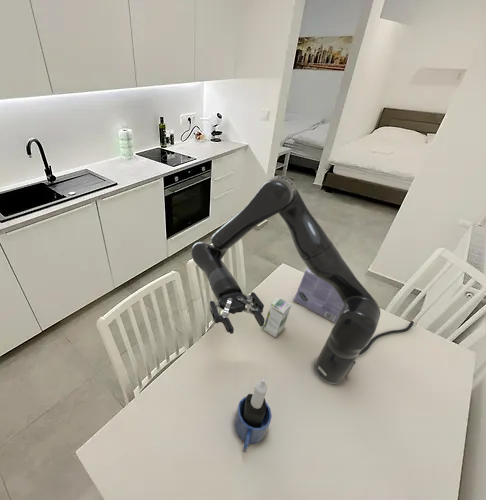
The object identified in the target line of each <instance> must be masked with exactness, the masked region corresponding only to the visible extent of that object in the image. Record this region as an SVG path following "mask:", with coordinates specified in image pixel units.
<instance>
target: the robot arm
mask: <svg viewBox="0 0 486 500" xmlns="http://www.w3.org/2000/svg"><path fill="white" fill-rule="evenodd" d="M277 214H279V216H280V217H281V219H282V220H283V221H284V222H285V224H286V226H287V228H288V230H289V233H290V235H291V239H292V242H293V244H294V247H295V248H296V251H297V253H298V255H299V257H300V259H301V260H302V262H303V263H304V264H305V266H306V268H308V269H309V270H310V271H311V272H312V273H313V274H314V275H315V276H317V277H318V278H320V279H322V280H324V281H325V282H327V283H329V284H330V285H331V286H332V287H333V288H334V289H335V290H336V291H337V293H338V294H339V296H340V297H341V299H342V301H343V303H344V306H343V309H342V311H341V313H340V315H339V317H338V319H337V321H336V323H334V325H333V327H332V329H331V331H330V333H329V335H328V337H327V339H326V341H325V343H324V345H323V348H322V349H321V352H320V353H319V355H318V357H317V359H316V361H315V362H314V366H313V367H314V368H313V369H314V372H315V374H316V375H317V376H318V378H319V379H321V380H322V381H323V382H325V383H326V384H330V385H339V384H341V383H342V382H343V380H344V379H346V378H347V377H348V376H349V374H350V372H351V371H352V370H353V368H354V366H355V365H356V359H357V358H358V356H360V355H361V354H363V353H365V352H366V351H368V349H370V347H371V346H372V344H373V343H374V342H375V341H376V340H377V339H379V338H381V337H383V336H387V335H391V334H396V333H404V332H407V331H409V330H410V329H411V328H412V327H413V325H414V324H415V321H413V320H411V321H410V323H409V324H408V325H407V327H405V328H402V329H393V330H392V329H391V330H389V331H384V332H381V333H379V334H377V335H375V333H376V330H377V327H378V324H379V322H380V318H381V308H380V306H379V304H378V302H377V301H376V299H374V297H373V296H372V294H371V293H370V292H369V291H368V290H367V289H366V288H365V286H364V285H363V284H362V283H361V282H360V281H359V279H358V278H357V277H356V276H355V274H354V272H353V270H352V269H351V268H350V266H349V265H348V264H347V262H346V261H345V259H344V258H343V256H342V254H341V253H340V251H339V250H338V249H337V247H336V245H335V244H334V243H333V241H332V240H331V239H330V237H329V236H328V234H327V233H326V232H325V230H324V229H323V227H322V226H321V224H319V222H318V221H317V219H315V217H314V216H313V214H312V213H311V212H310V210H309V209H308V207H307V204H306V203H305V201H304V199H303V198H302V196H301V194H300V192H299V190H298V188H297V186H296V184H295V182H293V180H292V179H290V178H289V177H287V176H285V175H274V176H272V177H271V178H269V179H267V180H266V181H265V182H264V183H263V184H262V185H261V186H260V187H259V190H258V191H257V192H256V193H255V194H254V195H253V197H252V198H251V200H250V201H249V202H248V203H247V204H246V205H245V206H244V207H243V209H241V210H240V211H239V212H238V213H237V214H236V215H234V216H232V217H231V218H230V219H228V220H227V221H226V222H225V223H224V224H223V225H221V226H220V227H219V228H218V229H217V230H216V231H215V232H213V234H212V235H211V238H210V242H211V243H208V242H205V241H197V242H195V243H194V244H193V245H192V247H191V251H190V253H191V254H190V255H191V258H192V261H193V262H194V263H195V264H196V265H197V267H198V268H199V269H200V270H201V271H202V272H203V273H204V275H205V277H206V279H207V281H208V283H209V286H210V289H211V291H212V292H213V294H214V296H215V298H216V301H217V302H215V301H214V300H210V301H209V311H210V314H211V316H212V319H213V321H214V324H219V323H221V324H222V325H223V327H224V329H225V331H226V332H227V333H229V335H232V334H234V331H235V328H234V325H233V324H232V322H231V320H230V318H229V316H230V314H231V315H235V314H237V313H243V312H244V313H246V314H250V315H252V316H254V319H255V321H256V322H257V324H258V326H259V327H260V328H261V327H264V324H265V321H266V318H265V317H264V315H263V312H264V308H265V304H264V303H263V301H262V300H261V299H260V298H259V297H258V295H257V294H256V293H255V292H254V291H252V292H250V294H248V295H246V294H244V293H243V291H242V289H241V287H240V286H239V284H238V283H237V281H236V279H235V277H234V276H233V274H232V272H230V271H229V269H228V268H227V266H226V264H225V263H224V262H223V258H224V257H225V255H226V254H227V252H228V250H229V249H231V248H232V247H233V246H235V244H237V243H239V241H240V240H242V239H243V238H244V237H245V236H246V235H248V234H249V232H251V231H252V230H253V229H254V228H255V227H257V226H259V224H261V223H263V222H265V221H266V220H268V219H269V218H272V217H273V216H275V215H277ZM219 308H220V309H222V310H223V313H222V315H221V314H220V313H219V311H218V310H219ZM374 335H375V336H374Z"/></svg>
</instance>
